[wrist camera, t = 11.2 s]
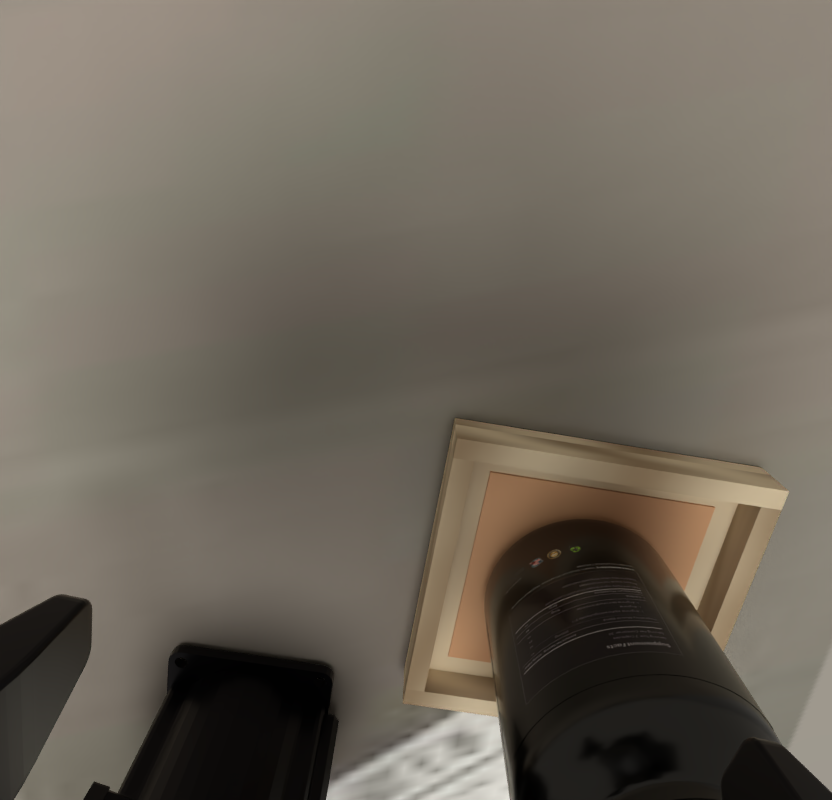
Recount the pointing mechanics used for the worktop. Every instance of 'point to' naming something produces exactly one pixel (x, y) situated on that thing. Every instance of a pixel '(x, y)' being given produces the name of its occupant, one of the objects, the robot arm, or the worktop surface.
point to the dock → (564, 500)
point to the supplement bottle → (608, 672)
